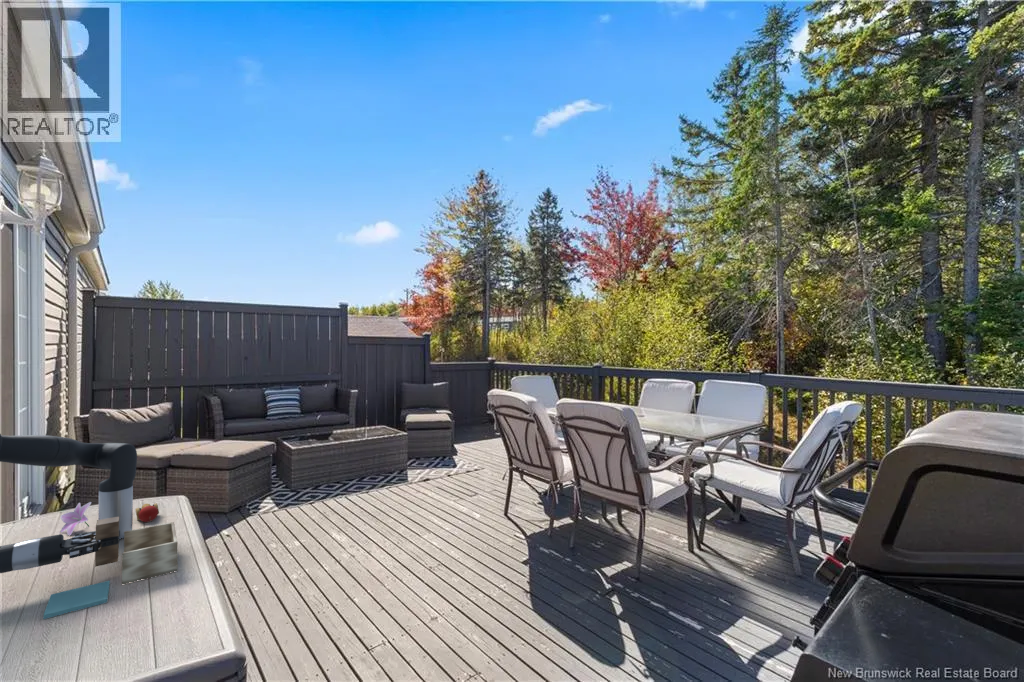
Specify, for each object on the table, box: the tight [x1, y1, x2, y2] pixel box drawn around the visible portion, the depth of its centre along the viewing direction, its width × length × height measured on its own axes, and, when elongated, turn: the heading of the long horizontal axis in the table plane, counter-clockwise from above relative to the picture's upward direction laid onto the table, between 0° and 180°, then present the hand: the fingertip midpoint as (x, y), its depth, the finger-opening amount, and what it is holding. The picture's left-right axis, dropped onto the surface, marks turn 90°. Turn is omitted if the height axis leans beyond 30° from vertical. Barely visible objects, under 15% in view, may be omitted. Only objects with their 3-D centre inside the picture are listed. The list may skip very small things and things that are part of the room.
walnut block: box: [94, 516, 120, 568], centre depth 136 cm, size 5×5×12 cm
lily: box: [59, 501, 92, 536], centre depth 168 cm, size 12×12×10 cm
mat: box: [43, 580, 111, 620], centre depth 123 cm, size 12×12×1 cm
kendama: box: [135, 502, 160, 523], centre depth 181 cm, size 8×6×18 cm
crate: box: [121, 521, 178, 585], centre depth 142 cm, size 13×20×9 cm, turn 39°
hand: (118, 536), depth 137 cm, fingers closed on walnut block, 5 cm apart
